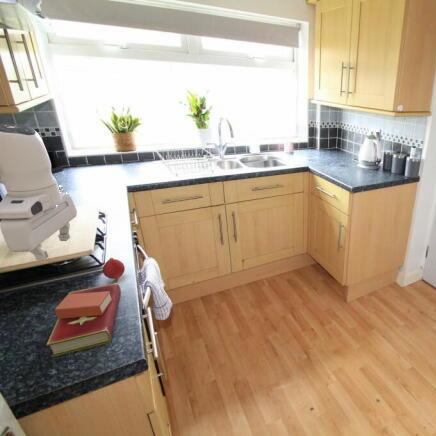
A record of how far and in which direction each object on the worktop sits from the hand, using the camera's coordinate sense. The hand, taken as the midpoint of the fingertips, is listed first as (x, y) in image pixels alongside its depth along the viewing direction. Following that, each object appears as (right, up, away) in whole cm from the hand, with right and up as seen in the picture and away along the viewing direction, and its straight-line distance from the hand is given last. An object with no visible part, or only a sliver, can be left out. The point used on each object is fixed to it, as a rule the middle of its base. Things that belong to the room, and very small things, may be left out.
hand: (54, 248), depth 79 cm
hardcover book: (+5, -20, +6) cm, 22 cm away
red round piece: (0, -12, +24) cm, 27 cm away
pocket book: (+5, -16, +4) cm, 17 cm away
